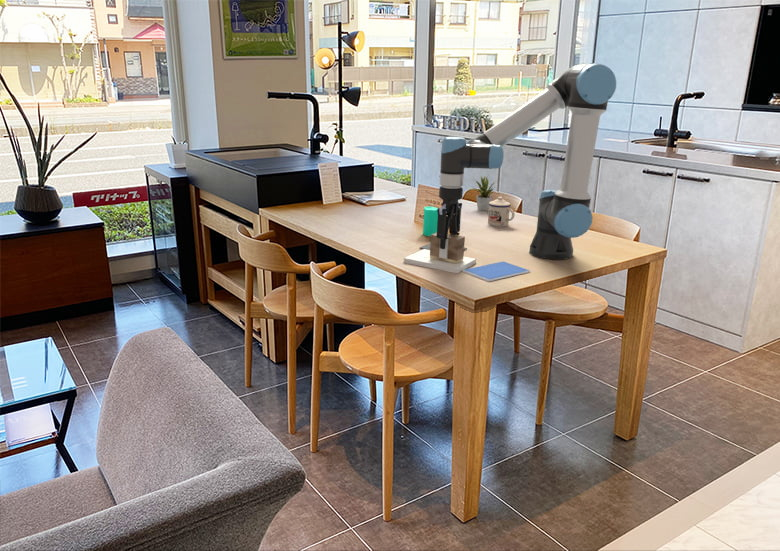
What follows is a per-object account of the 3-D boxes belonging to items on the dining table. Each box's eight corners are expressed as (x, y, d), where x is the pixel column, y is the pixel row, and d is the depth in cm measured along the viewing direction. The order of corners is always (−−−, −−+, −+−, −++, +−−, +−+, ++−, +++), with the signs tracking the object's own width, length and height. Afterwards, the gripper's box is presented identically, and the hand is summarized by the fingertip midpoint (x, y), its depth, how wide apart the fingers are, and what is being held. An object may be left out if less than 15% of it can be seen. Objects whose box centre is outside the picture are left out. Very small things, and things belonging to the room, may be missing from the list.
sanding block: (463, 260, 210) (464, 236, 208) (456, 263, 206) (458, 239, 204) (436, 254, 215) (437, 231, 213) (429, 258, 211) (430, 234, 209)
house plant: (461, 206, 302) (463, 172, 296) (487, 205, 306) (490, 171, 301) (473, 212, 289) (476, 177, 284) (501, 211, 293) (504, 176, 288)
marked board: (475, 263, 213) (476, 258, 213) (457, 273, 202) (457, 268, 201) (423, 253, 223) (424, 248, 223) (403, 262, 212) (403, 257, 211)
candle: (420, 232, 251) (421, 203, 247) (434, 232, 253) (435, 202, 249) (426, 236, 245) (428, 206, 242) (440, 235, 247) (442, 205, 244)
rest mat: (466, 249, 230) (466, 247, 229) (454, 255, 221) (454, 254, 221) (432, 242, 237) (432, 241, 236) (419, 248, 228) (419, 247, 228)
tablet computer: (503, 264, 215) (503, 260, 215) (531, 273, 206) (531, 269, 205) (461, 273, 204) (461, 269, 204) (488, 284, 195) (489, 280, 194)
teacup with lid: (482, 223, 268) (485, 196, 265) (495, 220, 275) (497, 194, 271) (506, 229, 261) (509, 201, 257) (518, 225, 267) (521, 198, 263)
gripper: (453, 181, 212) (449, 248, 220) (427, 188, 198) (424, 260, 205) (473, 183, 209) (468, 251, 216) (449, 191, 194) (444, 264, 201)
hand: (447, 255), depth 210 cm, fingers closed on sanding block, 5 cm apart
